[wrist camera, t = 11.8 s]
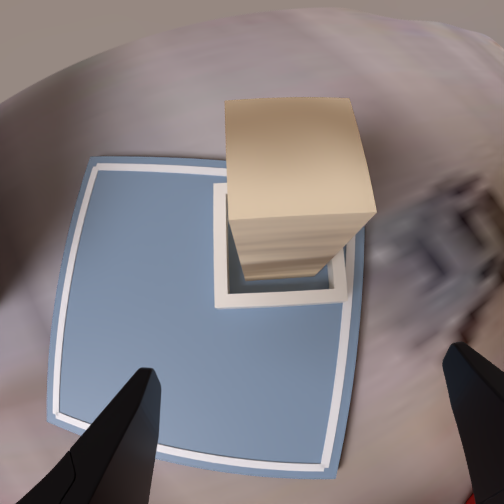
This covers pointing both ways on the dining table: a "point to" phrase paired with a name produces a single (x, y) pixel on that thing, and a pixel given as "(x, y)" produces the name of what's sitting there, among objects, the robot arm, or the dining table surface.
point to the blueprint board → (196, 328)
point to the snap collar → (269, 299)
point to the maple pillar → (294, 183)
